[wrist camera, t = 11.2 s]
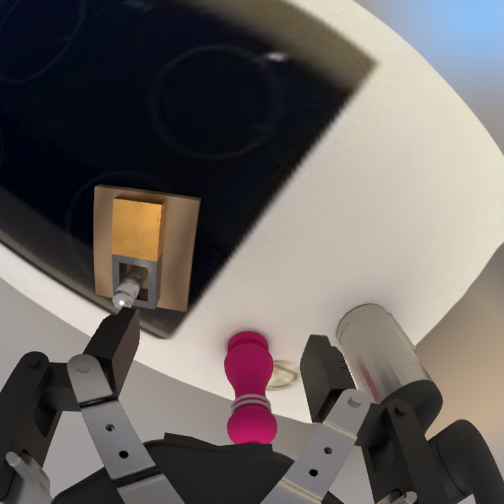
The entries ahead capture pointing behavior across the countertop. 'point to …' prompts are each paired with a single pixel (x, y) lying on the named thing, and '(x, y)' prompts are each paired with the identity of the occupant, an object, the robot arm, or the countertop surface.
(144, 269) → the post
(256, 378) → the pepper mill
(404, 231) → the countertop surface
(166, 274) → the board
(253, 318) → the countertop surface
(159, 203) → the link
